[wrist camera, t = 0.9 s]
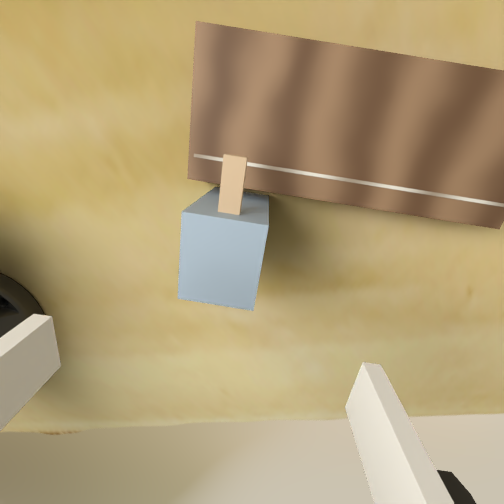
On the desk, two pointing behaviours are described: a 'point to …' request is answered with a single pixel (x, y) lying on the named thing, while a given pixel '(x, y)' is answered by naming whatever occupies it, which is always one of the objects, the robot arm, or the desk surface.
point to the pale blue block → (224, 241)
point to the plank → (349, 124)
